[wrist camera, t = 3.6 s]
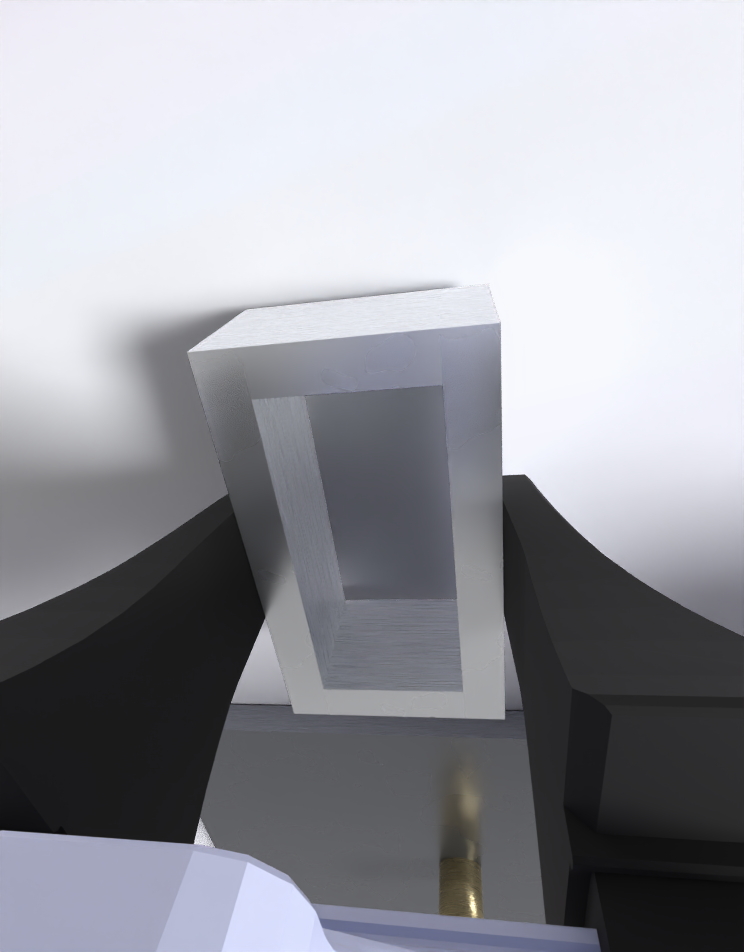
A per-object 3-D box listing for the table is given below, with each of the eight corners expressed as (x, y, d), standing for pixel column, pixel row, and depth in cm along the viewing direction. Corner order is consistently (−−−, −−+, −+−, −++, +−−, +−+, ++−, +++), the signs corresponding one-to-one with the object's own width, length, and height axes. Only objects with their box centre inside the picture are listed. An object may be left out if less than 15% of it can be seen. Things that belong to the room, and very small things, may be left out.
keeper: (785, 717, 16) (906, 916, 12) (697, 952, 24) (751, 1125, 20) (168, 702, 20) (90, 855, 15) (266, 913, 27) (232, 1054, 23)
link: (246, 309, 11) (187, 352, 9) (488, 284, 11) (500, 322, 8) (319, 623, 16) (293, 713, 13) (495, 623, 15) (505, 719, 12)
